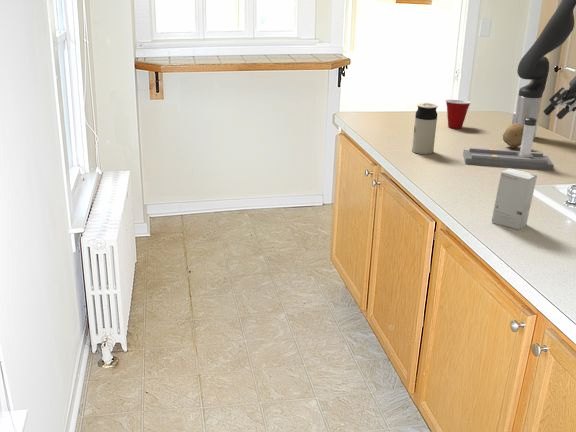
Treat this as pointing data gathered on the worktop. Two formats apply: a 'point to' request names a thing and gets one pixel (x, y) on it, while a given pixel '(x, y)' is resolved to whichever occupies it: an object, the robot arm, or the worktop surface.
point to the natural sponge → (513, 135)
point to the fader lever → (527, 138)
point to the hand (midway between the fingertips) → (551, 115)
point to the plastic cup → (456, 113)
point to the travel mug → (425, 128)
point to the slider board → (506, 159)
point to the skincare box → (514, 198)
